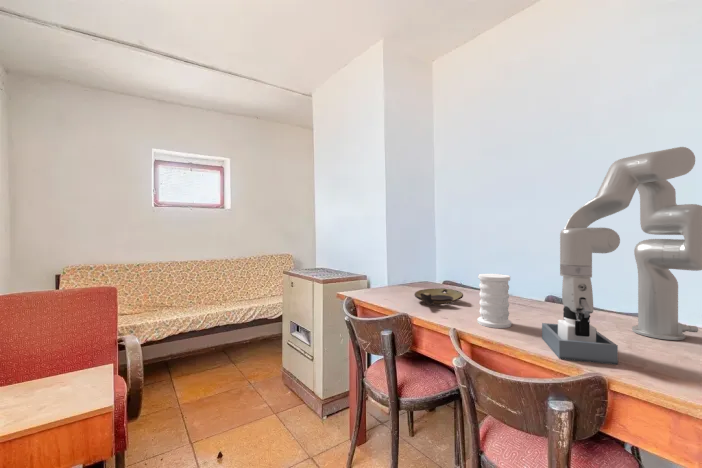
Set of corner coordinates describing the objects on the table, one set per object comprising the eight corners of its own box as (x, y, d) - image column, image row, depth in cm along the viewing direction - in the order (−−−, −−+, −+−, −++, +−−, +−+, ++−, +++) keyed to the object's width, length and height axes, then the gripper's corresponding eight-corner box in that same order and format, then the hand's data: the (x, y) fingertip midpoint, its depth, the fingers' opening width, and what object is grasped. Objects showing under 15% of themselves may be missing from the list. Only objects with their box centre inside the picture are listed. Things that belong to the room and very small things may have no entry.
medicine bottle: (596, 353, 87) (597, 310, 87) (567, 351, 88) (567, 308, 88) (584, 345, 94) (584, 304, 94) (557, 342, 95) (557, 303, 95)
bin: (589, 342, 97) (589, 326, 97) (617, 364, 81) (617, 345, 81) (542, 338, 101) (542, 322, 101) (559, 358, 85) (559, 340, 85)
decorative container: (473, 319, 124) (473, 273, 124) (504, 319, 123) (504, 273, 123) (482, 327, 113) (482, 277, 113) (516, 328, 112) (516, 277, 111)
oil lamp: (474, 304, 150) (474, 288, 150) (428, 312, 134) (428, 294, 134) (438, 296, 169) (438, 281, 169) (394, 303, 153) (394, 287, 153)
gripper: (605, 275, 82) (605, 342, 82) (579, 268, 98) (579, 323, 98) (571, 274, 84) (571, 339, 84) (551, 267, 100) (551, 321, 101)
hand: (575, 330), depth 91 cm, fingers open, 9 cm apart
